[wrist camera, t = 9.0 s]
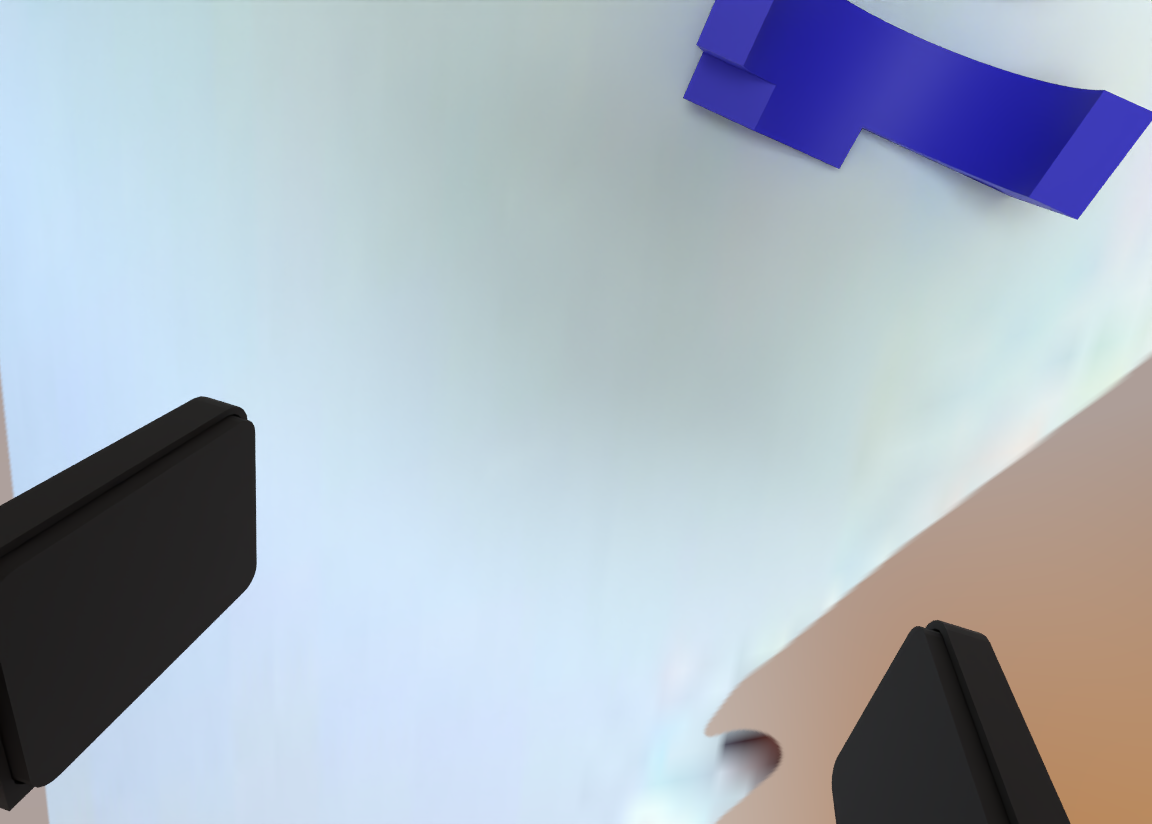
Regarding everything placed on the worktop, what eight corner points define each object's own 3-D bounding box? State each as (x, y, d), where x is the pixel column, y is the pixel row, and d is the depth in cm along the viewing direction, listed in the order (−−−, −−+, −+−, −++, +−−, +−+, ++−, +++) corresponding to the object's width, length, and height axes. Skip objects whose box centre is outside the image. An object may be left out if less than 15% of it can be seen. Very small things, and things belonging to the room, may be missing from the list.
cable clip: (690, 98, 26) (674, 96, 21) (748, -32, 24) (746, -72, 19) (981, 234, 26) (1041, 266, 20) (1066, 112, 24) (1157, 113, 18)
